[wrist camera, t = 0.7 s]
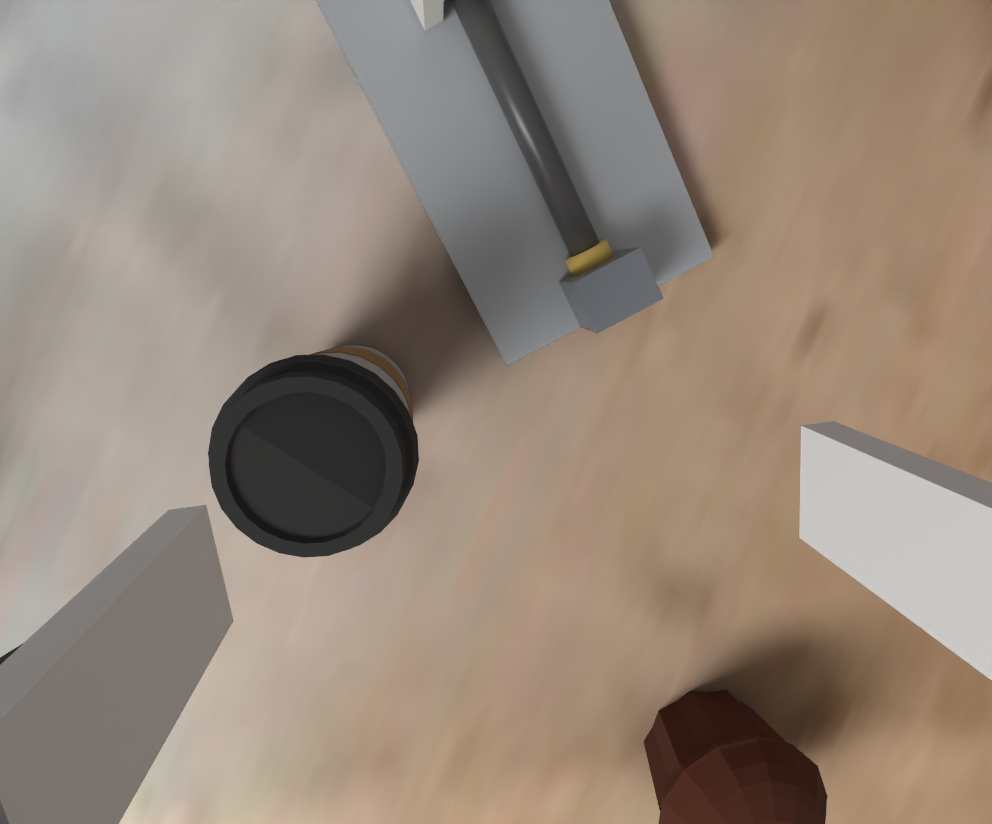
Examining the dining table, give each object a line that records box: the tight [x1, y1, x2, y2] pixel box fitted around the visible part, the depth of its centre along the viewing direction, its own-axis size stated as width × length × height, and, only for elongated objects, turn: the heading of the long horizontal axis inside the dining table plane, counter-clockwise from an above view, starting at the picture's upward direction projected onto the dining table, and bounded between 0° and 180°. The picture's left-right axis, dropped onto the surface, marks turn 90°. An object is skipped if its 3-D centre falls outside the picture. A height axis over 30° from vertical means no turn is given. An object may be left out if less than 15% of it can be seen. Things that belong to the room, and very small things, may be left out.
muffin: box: [644, 691, 827, 824], centre depth 41 cm, size 12×11×10 cm
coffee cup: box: [208, 345, 419, 557], centre depth 31 cm, size 8×8×15 cm
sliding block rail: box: [316, 0, 714, 366], centre depth 32 cm, size 27×14×6 cm, turn 27°
